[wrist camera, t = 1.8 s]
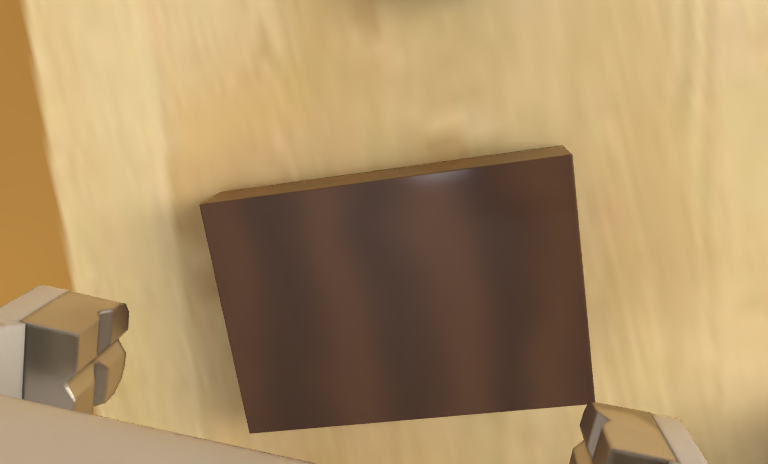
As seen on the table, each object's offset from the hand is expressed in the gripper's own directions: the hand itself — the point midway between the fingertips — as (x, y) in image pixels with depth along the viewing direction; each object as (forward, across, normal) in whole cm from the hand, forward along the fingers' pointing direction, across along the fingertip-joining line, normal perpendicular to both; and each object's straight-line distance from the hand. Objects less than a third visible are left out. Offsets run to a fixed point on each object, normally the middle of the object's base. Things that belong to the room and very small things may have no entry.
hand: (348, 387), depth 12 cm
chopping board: (+29, 0, +8) cm, 30 cm away
